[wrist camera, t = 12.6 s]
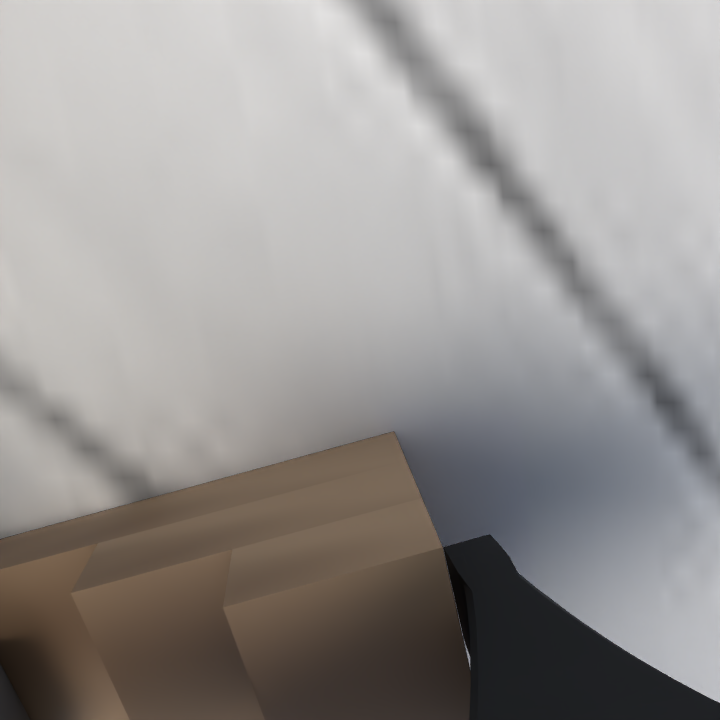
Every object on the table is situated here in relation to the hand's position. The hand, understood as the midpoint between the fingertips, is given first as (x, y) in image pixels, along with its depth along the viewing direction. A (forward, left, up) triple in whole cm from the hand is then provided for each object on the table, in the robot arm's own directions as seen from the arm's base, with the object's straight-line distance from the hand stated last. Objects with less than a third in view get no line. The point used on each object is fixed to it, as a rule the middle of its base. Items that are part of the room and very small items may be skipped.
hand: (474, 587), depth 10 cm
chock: (0, +5, -2) cm, 5 cm away
